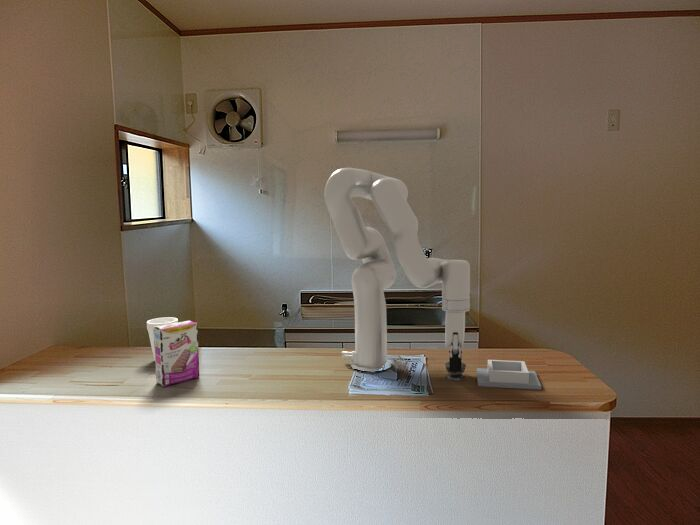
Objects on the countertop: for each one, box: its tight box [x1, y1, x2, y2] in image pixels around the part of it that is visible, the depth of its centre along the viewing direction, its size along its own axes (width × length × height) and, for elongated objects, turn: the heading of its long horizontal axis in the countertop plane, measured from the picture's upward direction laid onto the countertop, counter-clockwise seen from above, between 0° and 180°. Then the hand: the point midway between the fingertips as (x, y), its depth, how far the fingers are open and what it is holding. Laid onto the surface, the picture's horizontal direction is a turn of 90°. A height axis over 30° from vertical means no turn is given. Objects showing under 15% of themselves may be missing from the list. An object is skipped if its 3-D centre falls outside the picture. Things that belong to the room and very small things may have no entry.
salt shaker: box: [444, 344, 467, 382], centre depth 143 cm, size 6×6×12 cm
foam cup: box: [146, 316, 179, 361], centre depth 165 cm, size 10×9×13 cm
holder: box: [476, 359, 542, 390], centre depth 141 cm, size 16×12×4 cm
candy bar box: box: [154, 320, 200, 388], centre depth 145 cm, size 11×5×16 cm, turn 134°
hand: (455, 367), depth 144 cm, fingers closed on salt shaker, 5 cm apart
